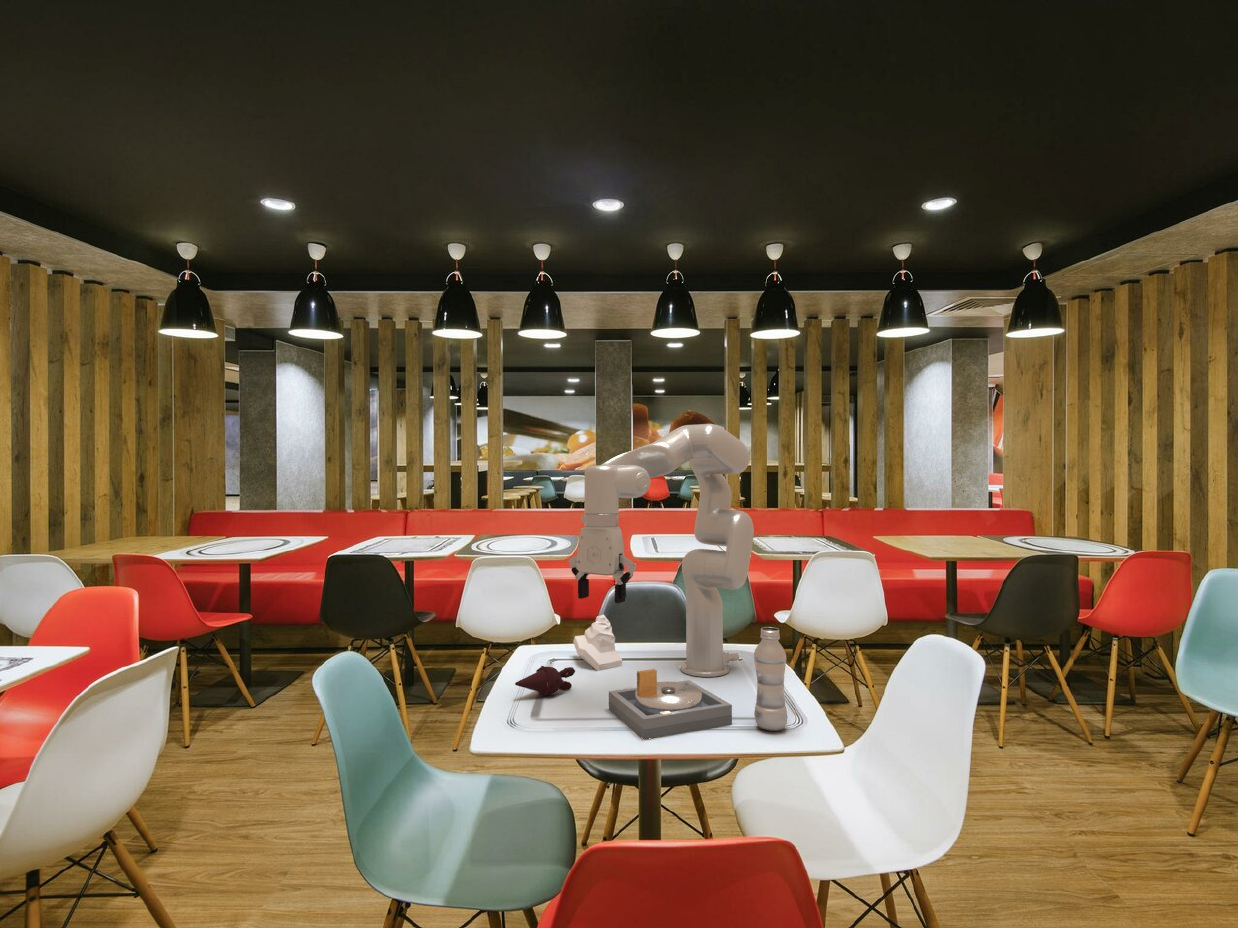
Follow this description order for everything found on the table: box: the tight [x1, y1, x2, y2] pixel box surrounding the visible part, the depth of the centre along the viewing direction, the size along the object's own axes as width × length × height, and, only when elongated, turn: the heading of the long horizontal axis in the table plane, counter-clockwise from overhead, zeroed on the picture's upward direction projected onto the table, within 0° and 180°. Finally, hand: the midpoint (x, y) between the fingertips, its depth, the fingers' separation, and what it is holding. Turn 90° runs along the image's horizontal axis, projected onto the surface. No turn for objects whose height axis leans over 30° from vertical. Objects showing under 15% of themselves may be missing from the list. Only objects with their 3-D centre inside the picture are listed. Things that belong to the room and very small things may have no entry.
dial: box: [635, 668, 702, 715], centre depth 141 cm, size 14×14×8 cm
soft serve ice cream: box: [573, 614, 623, 671], centre depth 182 cm, size 12×15×14 cm
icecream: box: [514, 665, 576, 698], centre depth 156 cm, size 7×7×15 cm
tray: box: [608, 679, 733, 740], centre depth 141 cm, size 20×18×4 cm
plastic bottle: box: [753, 626, 789, 732], centre depth 135 cm, size 6×7×20 cm
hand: (601, 599), depth 146 cm, fingers open, 9 cm apart
